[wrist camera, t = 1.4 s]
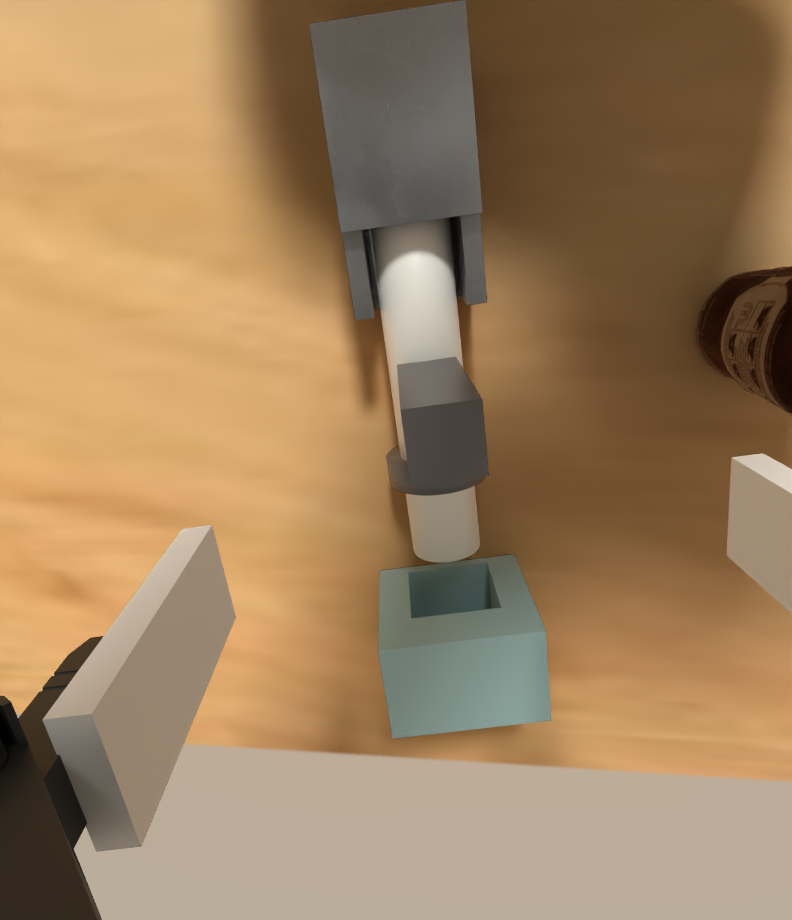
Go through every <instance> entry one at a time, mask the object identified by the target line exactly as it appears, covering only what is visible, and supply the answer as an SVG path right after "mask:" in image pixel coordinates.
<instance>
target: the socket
mask: <svg viewBox="0 0 792 920" xmlns="http://www.w3.org/2000/svg"><path fill="white" fill-rule="evenodd" d="M378 655H379V661H380V667H381V673H382V679H383V684H384V690H385V696H386V702H387V708H388V714H389V720H390V725H391V731H392V737H393V739H395V738H404V737H413V736H421V735H430V734H439V733H447V732H456V731H465V730H473V729H482V728H491V727H499V726H508V725H517V724H525V723H534V722H543V721H551V708H550V691H549V674H548V657H547V641H546V630H545V627H544V625H543V623H542V620H541V618H540V615H539V613H538V610H537V608H536V606H535V603H534V601H533V598H532V596H531V593H530V591H529V589H528V586H527V584H526V581H525V579H524V577H523V574H522V572H521V569H520V567H519V564H518V562H517V560H516V557H515V555H514V554H511V555H503V556H495V557H487V558H479V559H471V560H463V561H455V562H447V563H439V564H431V565H423V566H415V567H407V568H399V569H391V570H382V571H380V582H379V622H378Z"/></svg>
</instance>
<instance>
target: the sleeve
mask: <svg viewBox="0 0 792 920" xmlns="http://www.w3.org/2000/svg"><path fill="white" fill-rule="evenodd" d="M309 29H310V35H311V42H312V48H313V55H314V61H315V68H316V74H317V81H318V87H319V94H320V100H321V107H322V113H323V120H324V127H325V133H326V140H327V146H328V153H329V159H330V166H331V172H332V179H333V185H334V192H335V198H336V205H337V211H338V218H339V224H340V231H341V233H342V236H343V243H344V249H345V256H346V262H347V269H348V275H349V282H350V289H351V295H352V302H353V308H354V315H355V321H356V320H364V319H371V318H374V315H375V310H376V309H377V308H380V304H379V297H378V290H377V283H376V276H375V268H374V261H373V254H372V247H371V239H370V232H369V229H374V228H381V227H388V226H395V225H402V224H409V223H416V222H423V221H430V220H437V219H444V218H449V225H450V235H451V245H452V256H453V266H454V276H455V287H456V297H458V298H459V299H461V300H462V301H464V302H465V303H466V304H468V305H473V304H480V303H487V293H486V281H485V269H484V256H483V244H482V231H481V219H480V213H482V212H483V211H482V198H481V185H480V173H479V160H478V148H477V135H476V122H475V110H474V97H473V84H472V72H471V59H470V47H469V34H468V21H467V9H466V0H460V1H453V2H447V3H440V4H434V5H427V6H421V7H414V8H408V9H401V10H395V11H388V12H382V13H375V14H369V15H362V16H356V17H349V18H343V19H336V20H330V21H323V22H317V23H310V24H309Z"/></svg>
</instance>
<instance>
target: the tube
mask: <svg viewBox="0 0 792 920" xmlns="http://www.w3.org/2000/svg"><path fill="white" fill-rule="evenodd" d="M369 232H370V239H371V247H372V254H373V261H374V268H375V276H376V283H377V290H378V297H379V304H380V312H381V319H382V326H383V333H384V341H385V348H386V355H387V362H388V370H389V377H390V384H391V391H392V398H393V406H394V413H395V420H396V427H397V435H398V442H399V446H397V447H395V448H393V449H392V450H391V451H390V452H389V453H388V454H387V457H386V458H387V465H388V472H389V479H390V484H391V486H392V487H393V488H394V489H395V490H397V491H399V492H402V493H406V500H407V507H408V514H409V521H410V529H411V536H412V543H413V550H414V553H415V554H416V555H417V556H418V557H419V558H421V559H423V560H426V561H430V562H453V561H458V560H461V559H464V558H467V557H469V556H471V555H472V554H474V553H475V552H476V551H477V550H478V549H479V547H480V535H479V525H478V514H477V504H476V494H475V485H477V484H479V483H480V482H482V481H483V480H484V479H485V478H486V476H487V475H489V471H488V460H487V448H486V437H485V426H484V414H483V403H482V398H481V396H480V395H479V393H478V391H477V390H476V388H475V387H474V385H473V383H472V382H471V380H470V379H469V377H468V375H467V374H466V372H465V371H464V369H463V359H462V349H461V338H460V328H459V318H458V307H457V297H456V287H455V276H454V266H453V256H452V245H451V235H450V225H449V218H444V219H437V220H430V221H423V222H416V223H409V224H402V225H395V226H388V227H381V228H374V229H369Z"/></svg>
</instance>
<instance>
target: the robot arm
mask: <svg viewBox="0 0 792 920" xmlns="http://www.w3.org/2000/svg"><path fill="white" fill-rule="evenodd" d="M727 557H729V558H730V559H731V560H732V561H733V562H734V563H735V564H736V565H737V566H739V567H740V568H741V569H742V570H743V571H744V572H745V573H746V574H747V575H749V576H750V577H751V578H752V579H753V580H754V581H755V582H756V583H757V584H759V585H760V586H761V587H762V588H763V589H764V590H765V591H766V592H767V593H769V594H770V595H771V596H772V597H773V598H774V599H775V600H776V601H777V602H779V603H780V604H781V605H782V606H783V607H784V608H785V609H786V610H787V611H789V612H790V613H791V614H792V469H791V468H789V467H787V466H785V465H783V464H782V463H780V462H778V461H776V460H774V459H772V458H770V457H769V456H767V455H765V454H763V453H761V454H753V455H746V456H738V457H731V477H730V497H729V516H728V536H727ZM235 618H236V616H235V612H234V608H233V604H232V600H231V596H230V592H229V589H228V585H227V581H226V577H225V573H224V569H223V565H222V562H221V558H220V554H219V550H218V546H217V542H216V538H215V535H214V531H213V527H212V525H208V526H200V527H193V528H185V529H182V530H181V532H180V533H179V534H178V536H177V537H176V538H175V540H174V541H173V542H172V544H171V545H170V547H169V548H168V549H167V551H166V552H165V553H164V555H163V556H162V557H161V559H160V560H159V562H158V563H157V564H156V566H155V567H154V568H153V570H152V571H151V572H150V574H149V575H148V577H147V578H146V579H145V581H144V582H143V583H142V585H141V586H140V587H139V589H138V590H137V592H136V593H135V594H134V596H133V597H132V598H131V600H130V601H129V602H128V604H127V605H126V607H125V608H124V609H123V611H122V612H121V613H120V615H119V616H118V617H117V619H116V620H115V622H114V623H113V624H112V626H111V627H110V628H109V630H108V631H107V632H106V634H105V635H104V636H101V637H93V638H90V639H88V640H87V641H86V642H85V643H83V644H82V645H81V646H79V647H78V648H77V649H75V650H74V651H73V652H72V653H70V654H69V655H68V656H67V657H66V659H65V660H64V661H63V662H62V664H61V665H60V666H59V668H58V669H57V670H56V671H55V673H54V676H51V678H50V679H49V680H48V682H47V683H46V684H45V685H44V687H43V691H42V692H39V693H38V694H37V696H36V697H35V698H34V699H33V701H32V702H31V703H30V704H29V706H28V707H27V708H26V709H25V711H24V712H23V713H22V715H21V716H20V717H19V718H17V715H16V713H15V710H14V708H13V706H12V703H11V702H10V701H9V700H8V699H7V698H6V697H5V696H0V920H102V919H101V916H100V914H99V911H98V909H97V906H96V903H95V901H94V899H93V896H92V894H91V891H90V888H89V886H88V883H87V881H86V879H85V876H84V874H83V871H82V868H81V866H80V863H79V861H78V859H77V856H76V854H75V852H74V847H75V845H76V843H77V841H78V839H79V837H80V835H81V834H82V832H83V830H84V828H85V826H86V827H87V830H88V832H89V835H90V837H91V840H92V842H93V845H94V847H95V850H96V851H105V850H114V849H123V848H132V847H141V846H142V843H143V841H144V839H145V836H146V834H147V831H148V829H149V827H150V824H151V822H152V819H153V817H154V815H155V812H156V810H157V807H158V805H159V802H160V800H161V797H162V795H163V793H164V790H165V787H166V785H167V783H168V781H169V778H170V776H171V773H172V771H173V768H174V766H175V764H176V761H177V759H178V756H179V754H180V751H181V749H182V747H183V744H184V742H185V739H186V737H187V734H188V732H189V730H190V727H191V725H192V722H193V720H194V717H195V715H196V713H197V710H198V708H199V705H200V703H201V700H202V698H203V696H204V693H205V691H206V688H207V686H208V683H209V681H210V679H211V676H212V674H213V671H214V669H215V666H216V664H217V662H218V659H219V657H220V654H221V652H222V650H223V647H224V645H225V642H226V640H227V637H228V635H229V633H230V630H231V628H232V625H233V623H234V620H235Z"/></svg>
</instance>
